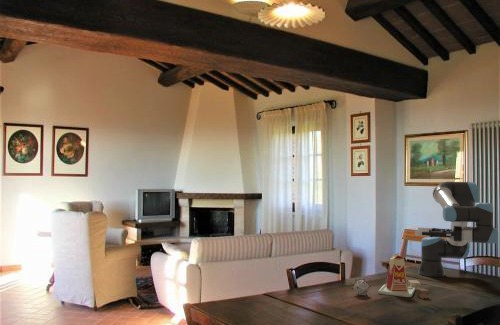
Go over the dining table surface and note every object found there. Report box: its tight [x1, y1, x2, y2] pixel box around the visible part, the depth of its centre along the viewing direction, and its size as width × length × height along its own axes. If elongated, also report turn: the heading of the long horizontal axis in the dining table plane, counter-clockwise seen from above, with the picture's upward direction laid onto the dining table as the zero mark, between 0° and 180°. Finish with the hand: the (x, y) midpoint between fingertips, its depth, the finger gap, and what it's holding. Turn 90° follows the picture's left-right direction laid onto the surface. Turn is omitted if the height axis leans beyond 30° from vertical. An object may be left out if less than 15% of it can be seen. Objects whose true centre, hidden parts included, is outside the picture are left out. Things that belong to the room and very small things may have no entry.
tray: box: [378, 283, 416, 298], centre depth 235 cm, size 16×16×2 cm
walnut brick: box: [416, 287, 430, 300], centre depth 225 cm, size 4×4×4 cm
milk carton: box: [386, 252, 409, 293], centre depth 236 cm, size 9×9×20 cm
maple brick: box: [407, 279, 421, 291], centre depth 243 cm, size 5×5×4 cm
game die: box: [351, 278, 372, 297], centre depth 228 cm, size 9×8×10 cm
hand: (416, 231), depth 232 cm, fingers open, 13 cm apart
